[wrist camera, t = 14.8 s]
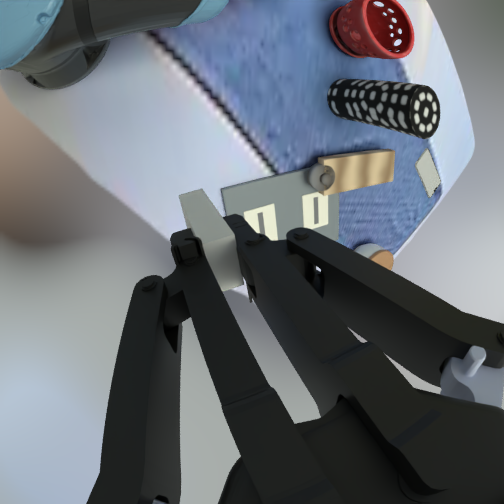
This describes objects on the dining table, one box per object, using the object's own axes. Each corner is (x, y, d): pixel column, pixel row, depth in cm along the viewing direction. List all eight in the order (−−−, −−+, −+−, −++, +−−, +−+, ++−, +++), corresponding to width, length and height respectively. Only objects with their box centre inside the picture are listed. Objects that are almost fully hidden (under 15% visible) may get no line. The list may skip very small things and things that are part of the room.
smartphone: (427, 146, 61) (441, 181, 70) (425, 146, 62) (439, 181, 70) (414, 165, 62) (429, 199, 71) (412, 164, 63) (427, 198, 71)
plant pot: (380, 35, 42) (423, 33, 32) (354, 72, 45) (398, 73, 35) (341, -8, 35) (383, -20, 25) (309, 27, 38) (351, 16, 28)
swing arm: (307, 194, 52) (316, 200, 50) (306, 159, 49) (315, 163, 46) (386, 178, 58) (396, 182, 55) (388, 148, 54) (398, 152, 51)
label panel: (220, 186, 48) (223, 189, 46) (335, 159, 54) (341, 162, 52) (237, 271, 58) (240, 277, 57) (335, 237, 64) (341, 241, 62)
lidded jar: (346, 240, 66) (371, 260, 58) (377, 233, 69) (402, 250, 62) (340, 277, 71) (362, 298, 64) (370, 267, 75) (392, 286, 67)
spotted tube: (354, 123, 51) (432, 146, 35) (322, 111, 47) (404, 127, 31) (363, 88, 48) (444, 100, 32) (333, 72, 44) (416, 75, 28)
